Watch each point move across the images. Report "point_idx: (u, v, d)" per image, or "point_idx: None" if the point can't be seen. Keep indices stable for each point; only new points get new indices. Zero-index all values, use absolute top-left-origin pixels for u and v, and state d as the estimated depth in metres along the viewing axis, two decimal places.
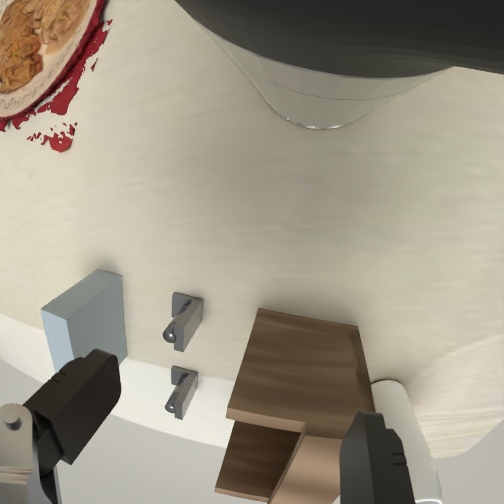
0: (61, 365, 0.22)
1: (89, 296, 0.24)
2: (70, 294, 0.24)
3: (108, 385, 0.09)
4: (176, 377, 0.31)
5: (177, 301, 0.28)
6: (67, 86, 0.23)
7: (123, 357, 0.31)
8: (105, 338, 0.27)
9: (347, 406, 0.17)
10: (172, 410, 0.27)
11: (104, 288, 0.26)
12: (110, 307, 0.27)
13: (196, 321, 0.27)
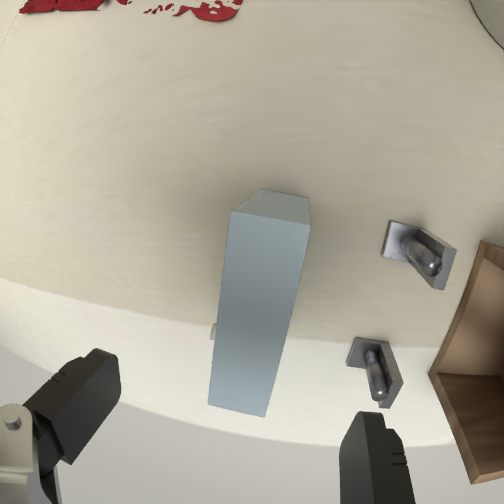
0: (239, 342, 0.13)
1: (298, 207, 0.15)
2: (264, 203, 0.15)
3: (108, 385, 0.09)
4: (358, 354, 0.22)
5: (397, 231, 0.19)
6: None
7: None
8: None
9: None
10: (382, 396, 0.18)
11: (307, 204, 0.17)
12: None
13: None
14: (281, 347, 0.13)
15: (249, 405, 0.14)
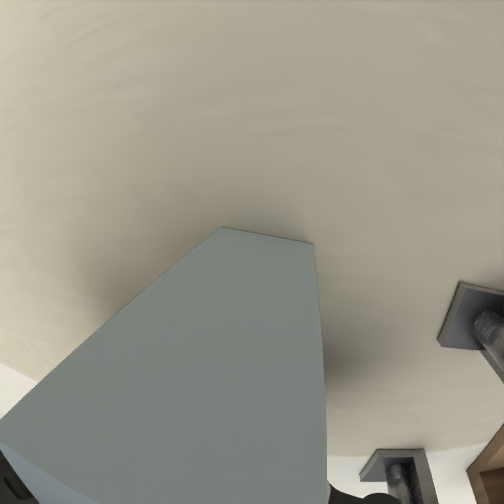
0: None
1: (290, 311, 0.05)
2: (181, 311, 0.05)
3: None
4: (379, 469, 0.12)
5: (470, 304, 0.09)
6: None
7: None
8: None
9: None
10: None
11: (313, 277, 0.07)
12: None
13: None
14: None
15: None
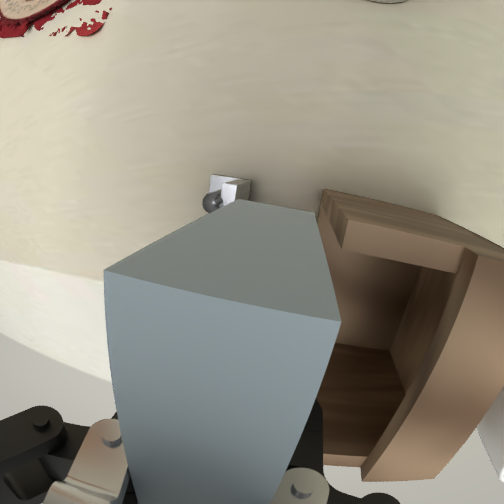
0: (179, 503, 0.05)
1: (299, 237, 0.07)
2: (224, 231, 0.07)
3: None
4: None
5: (217, 183, 0.21)
6: None
7: None
8: None
9: (491, 247, 0.10)
10: None
11: (315, 225, 0.09)
12: None
13: None
14: None
15: None
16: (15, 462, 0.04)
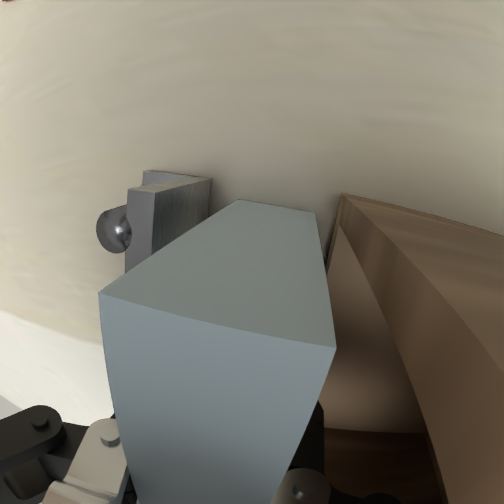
0: None
1: (299, 244, 0.07)
2: (221, 239, 0.07)
3: None
4: None
5: None
6: None
7: None
8: None
9: None
10: None
11: (315, 230, 0.09)
12: None
13: (193, 220, 0.11)
14: None
15: None
16: (14, 462, 0.04)
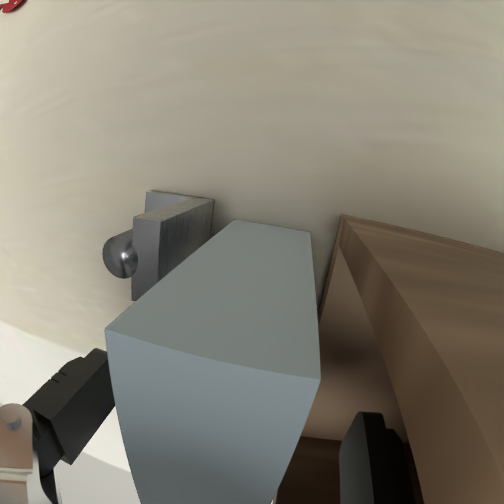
0: None
1: (292, 269, 0.08)
2: (218, 267, 0.07)
3: (108, 385, 0.09)
4: None
5: (156, 206, 0.12)
6: None
7: None
8: None
9: None
10: None
11: (309, 252, 0.09)
12: None
13: (197, 242, 0.11)
14: None
15: None
16: None
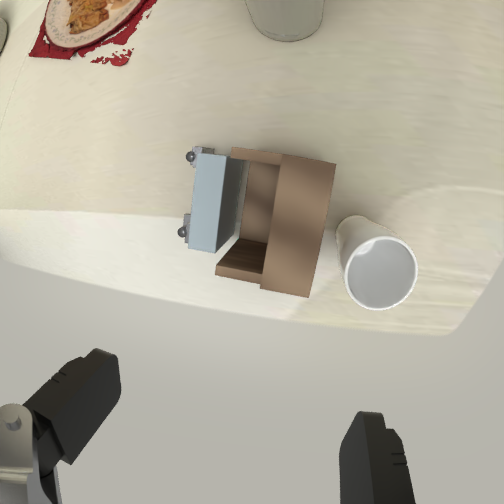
0: (201, 208, 0.31)
1: None
2: None
3: (108, 385, 0.09)
4: None
5: None
6: (127, 27, 0.35)
7: (232, 233, 0.40)
8: (231, 200, 0.36)
9: None
10: (183, 234, 0.37)
11: None
12: (237, 176, 0.36)
13: None
14: (219, 209, 0.31)
15: (207, 245, 0.32)
16: None
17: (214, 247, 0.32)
